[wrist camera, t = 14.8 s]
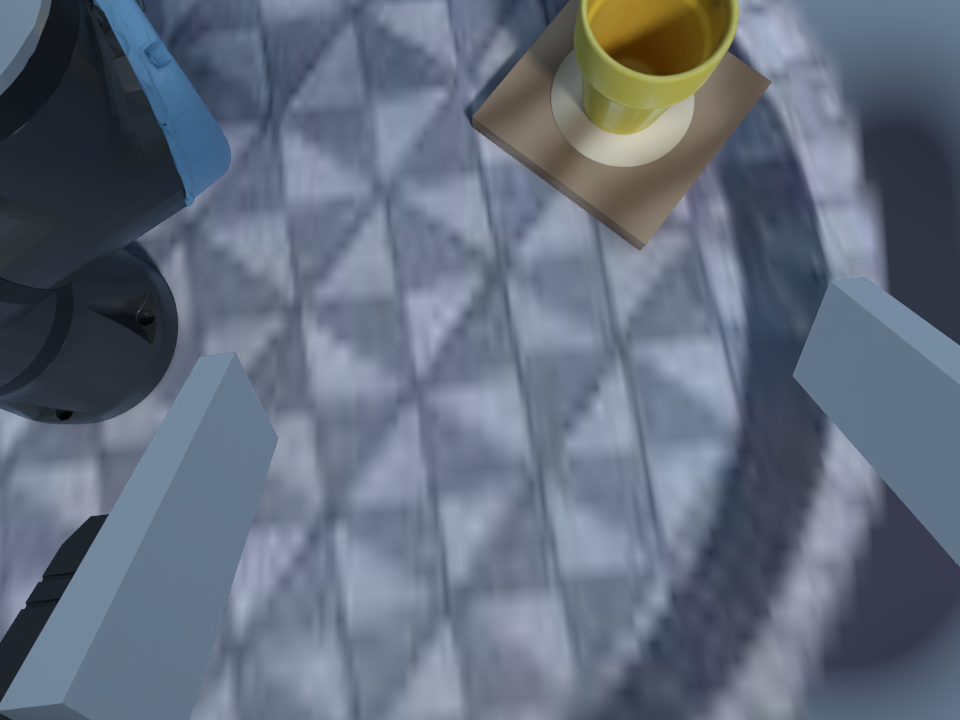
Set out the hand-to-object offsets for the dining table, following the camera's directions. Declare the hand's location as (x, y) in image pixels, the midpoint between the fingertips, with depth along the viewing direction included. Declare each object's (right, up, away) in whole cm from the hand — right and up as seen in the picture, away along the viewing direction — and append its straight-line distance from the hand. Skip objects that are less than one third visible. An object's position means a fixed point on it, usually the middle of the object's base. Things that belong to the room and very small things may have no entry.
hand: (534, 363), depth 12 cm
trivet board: (+11, +22, +32) cm, 40 cm away
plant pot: (+10, +22, +31) cm, 39 cm away
